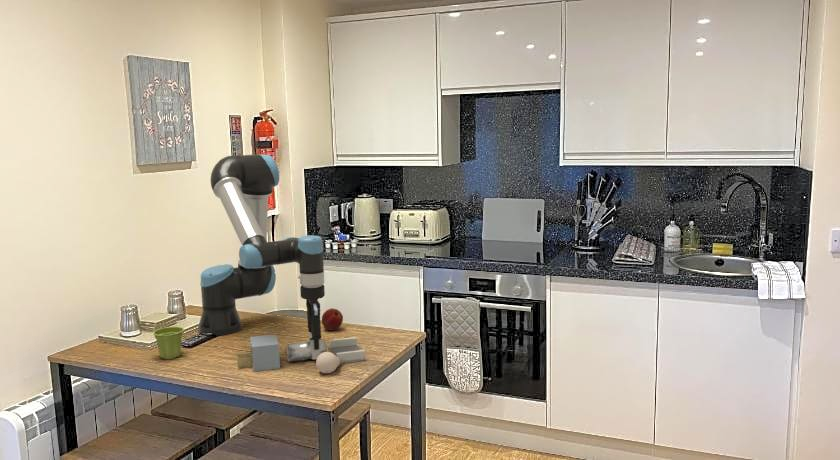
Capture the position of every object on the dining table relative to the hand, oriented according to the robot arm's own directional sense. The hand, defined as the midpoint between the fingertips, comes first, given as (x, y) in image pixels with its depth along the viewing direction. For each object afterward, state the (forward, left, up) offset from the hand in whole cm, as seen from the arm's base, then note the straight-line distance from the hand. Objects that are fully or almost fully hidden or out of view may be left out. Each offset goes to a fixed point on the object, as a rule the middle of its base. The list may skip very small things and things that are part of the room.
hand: (315, 355), depth 209 cm
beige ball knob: (+11, +3, -2) cm, 12 cm away
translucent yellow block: (-1, -20, -1) cm, 20 cm away
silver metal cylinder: (-1, -3, -1) cm, 3 cm away
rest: (0, +10, -1) cm, 10 cm away
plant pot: (-18, -45, -1) cm, 48 cm away
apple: (-28, +10, -1) cm, 30 cm away
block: (0, -16, -1) cm, 16 cm away
